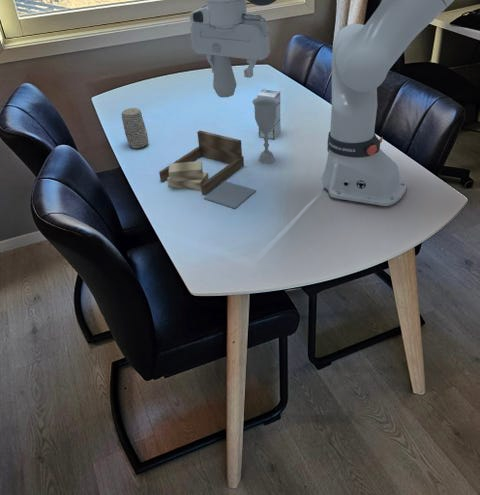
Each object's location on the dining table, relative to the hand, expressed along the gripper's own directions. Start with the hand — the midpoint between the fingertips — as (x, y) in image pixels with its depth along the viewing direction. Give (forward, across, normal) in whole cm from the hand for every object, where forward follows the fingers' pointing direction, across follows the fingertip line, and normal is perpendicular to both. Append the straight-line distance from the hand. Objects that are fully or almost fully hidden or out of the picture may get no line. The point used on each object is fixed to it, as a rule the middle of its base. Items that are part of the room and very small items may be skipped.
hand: (232, 74), depth 117 cm
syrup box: (+30, +8, -29) cm, 43 cm away
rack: (+29, +12, +3) cm, 32 cm away
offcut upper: (+27, +13, +8) cm, 31 cm away
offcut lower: (+30, +13, +8) cm, 33 cm away
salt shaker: (+5, +2, 0) cm, 6 cm away
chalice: (+30, 0, -14) cm, 33 cm away
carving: (+29, +42, -4) cm, 52 cm away
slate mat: (+30, -1, +8) cm, 31 cm away
